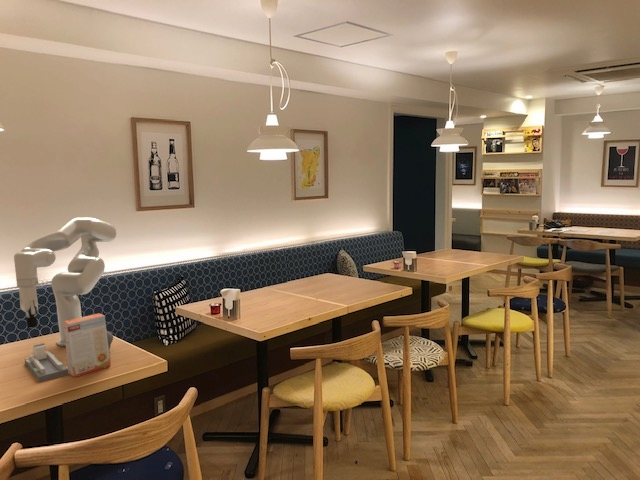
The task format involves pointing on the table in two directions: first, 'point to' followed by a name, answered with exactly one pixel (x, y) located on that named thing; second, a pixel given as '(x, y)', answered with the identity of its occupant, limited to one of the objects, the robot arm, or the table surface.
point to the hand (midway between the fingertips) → (32, 326)
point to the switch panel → (46, 367)
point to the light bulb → (109, 339)
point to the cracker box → (86, 344)
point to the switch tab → (40, 351)
